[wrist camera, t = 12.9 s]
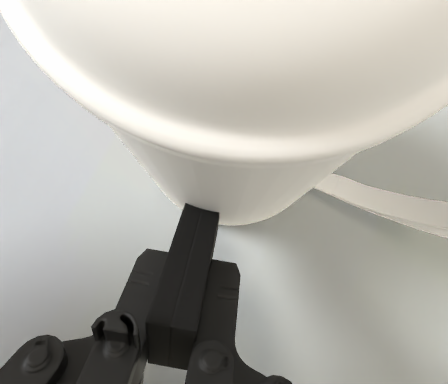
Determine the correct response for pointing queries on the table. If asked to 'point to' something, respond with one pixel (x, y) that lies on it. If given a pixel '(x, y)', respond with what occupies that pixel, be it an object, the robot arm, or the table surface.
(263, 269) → the table surface
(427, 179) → the table surface
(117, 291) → the table surface
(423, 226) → the coffeepot
